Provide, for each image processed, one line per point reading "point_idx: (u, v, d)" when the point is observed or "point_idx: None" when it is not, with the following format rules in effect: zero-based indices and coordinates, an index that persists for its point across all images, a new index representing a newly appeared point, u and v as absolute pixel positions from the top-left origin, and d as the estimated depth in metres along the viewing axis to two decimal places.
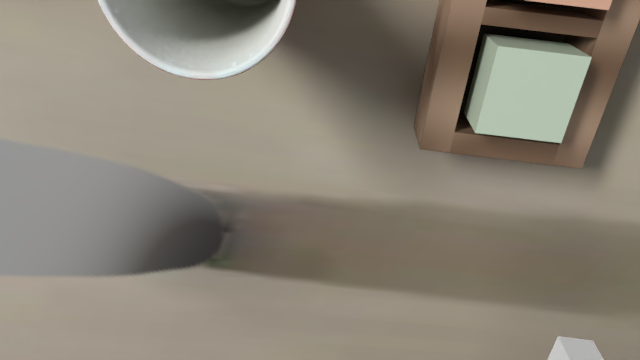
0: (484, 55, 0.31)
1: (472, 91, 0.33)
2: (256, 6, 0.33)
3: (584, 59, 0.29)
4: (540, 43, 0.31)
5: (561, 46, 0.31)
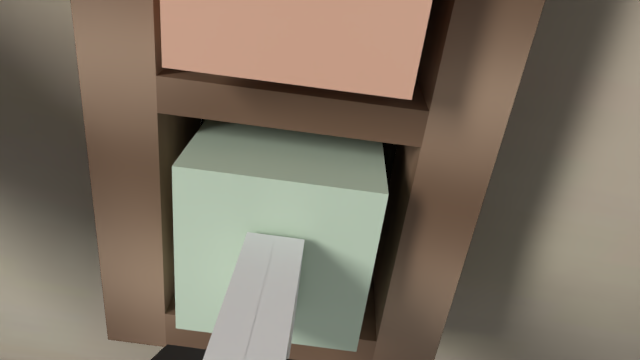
0: None
1: None
2: None
3: (373, 198, 0.12)
4: (310, 143, 0.15)
5: (351, 152, 0.14)
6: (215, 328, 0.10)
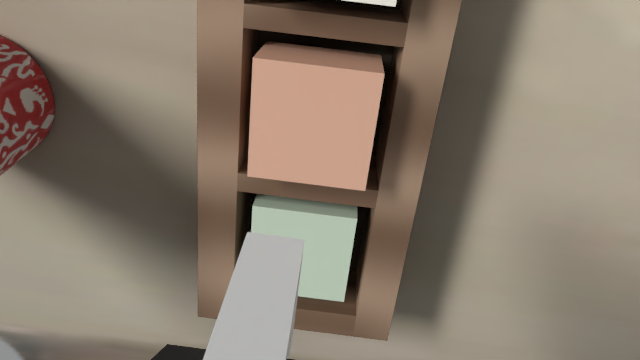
0: None
1: None
2: None
3: (349, 220, 0.26)
4: None
5: None
6: (215, 328, 0.10)
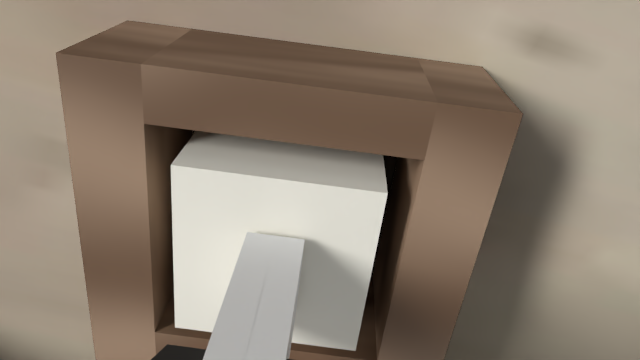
0: None
1: None
2: None
3: None
4: None
5: None
6: (215, 328, 0.10)
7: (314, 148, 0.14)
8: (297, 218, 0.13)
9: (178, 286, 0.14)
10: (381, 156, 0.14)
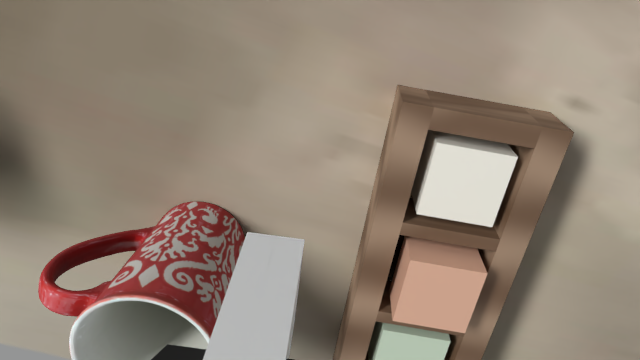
0: None
1: (372, 338, 0.44)
2: None
3: (445, 342, 0.40)
4: None
5: None
6: (215, 328, 0.10)
7: (481, 140, 0.35)
8: (480, 166, 0.33)
9: (423, 194, 0.34)
10: (508, 145, 0.35)
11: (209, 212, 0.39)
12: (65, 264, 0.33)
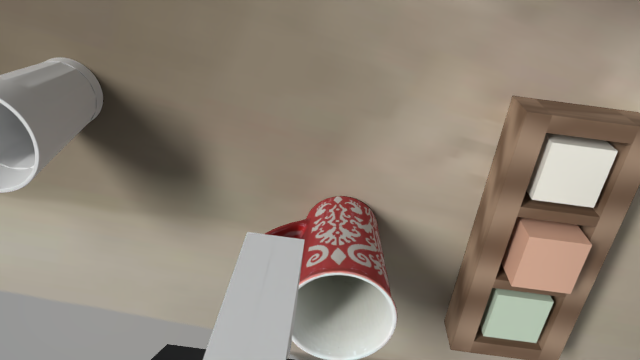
0: None
1: None
2: None
3: (549, 302, 0.48)
4: None
5: None
6: (215, 328, 0.10)
7: (583, 138, 0.43)
8: (587, 159, 0.41)
9: (539, 183, 0.43)
10: None
11: (354, 205, 0.48)
12: None
